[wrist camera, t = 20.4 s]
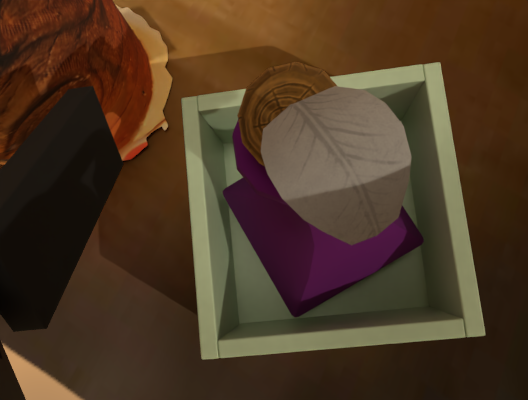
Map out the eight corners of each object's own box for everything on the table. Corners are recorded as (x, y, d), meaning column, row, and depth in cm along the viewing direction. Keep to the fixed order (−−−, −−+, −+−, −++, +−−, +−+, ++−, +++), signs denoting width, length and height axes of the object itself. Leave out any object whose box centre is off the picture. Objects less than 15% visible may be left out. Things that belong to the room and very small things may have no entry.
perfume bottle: (231, 199, 27) (76, 76, 10) (341, 134, 27) (388, -113, 10) (296, 313, 26) (255, 411, 8) (412, 245, 26) (621, 198, 8)
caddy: (410, 111, 28) (440, 61, 21) (441, 317, 26) (486, 336, 19) (212, 137, 29) (180, 97, 22) (229, 336, 27) (200, 360, 20)
